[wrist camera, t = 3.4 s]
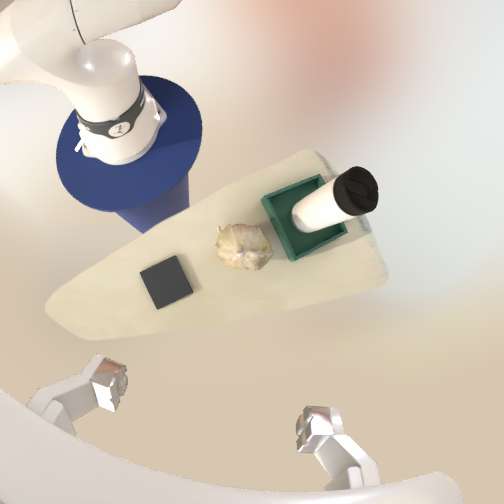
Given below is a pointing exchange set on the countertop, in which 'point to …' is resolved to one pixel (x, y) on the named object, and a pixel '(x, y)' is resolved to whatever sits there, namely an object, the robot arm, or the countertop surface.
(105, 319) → the countertop surface
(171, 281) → the mat
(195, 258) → the countertop surface
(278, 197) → the tray
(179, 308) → the countertop surface
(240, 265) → the garlic bulb
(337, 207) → the travel mug
